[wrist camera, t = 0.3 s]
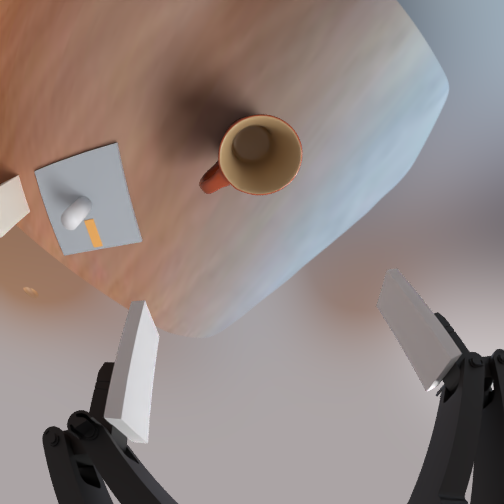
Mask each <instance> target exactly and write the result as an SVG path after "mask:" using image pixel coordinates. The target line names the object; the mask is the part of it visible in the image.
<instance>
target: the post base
mask: <svg viewBox="0 0 504 504" xmlns="http://www.w3.org/2000/svg"><path fill="white" fill-rule="evenodd" d="M35 175H36V178H37V182H38V185H39V189H40V192H41V195H42V198H43V201H44V204H45V207H46V210H47V213H48V216H49V219H50V222H51V224H52V227H53V229H54V232H55V235H56V237H57V240H58V242H59V244H60V247H61V249H62V252H63V254H64V256H65V255H70V254H75V253H81V252H86V251H92V250H97V249H103V248H108V247H114V246H120V245H126V244H132V243H138V242H142V237H141V234H140V231H139V227H138V224H137V220H136V217H135V213H134V210H133V206H132V203H131V199H130V195H129V191H128V187H127V183H126V179H125V175H124V171H123V166H122V162H121V157H120V152H119V148H118V143H114V144H110V145H107V146H103V147H100V148H97V149H94V150H90V151H87V152H84V153H81V154H78V155H75V156H72V157H70V158H67V159H64V160H61V161H59V162H56V163H53V164H51V165H48V166H46V167H43V168H41V169H38V170H36V171H35Z"/></svg>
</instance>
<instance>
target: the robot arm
mask: <svg viewBox="0 0 504 504" xmlns="http://www.w3.org/2000/svg"><path fill="white" fill-rule="evenodd" d="M377 308H378V309H379V311H380V312H381V314H382V315H383V317H384V319H385V320H386V322H387V324H388V325H389V327H390V328H391V330H392V332H393V333H394V335H395V337H396V338H397V340H398V342H399V344H400V345H401V347H402V349H403V350H404V352H405V354H406V356H407V357H408V359H409V360H410V362H411V364H412V366H413V368H414V370H415V372H416V373H417V375H418V377H419V379H420V381H421V383H422V385H423V386H424V388H425V390H426V391H429V390H431V389H433V388H435V387H437V386H438V384H439V383H440V382H441V381H442V380H443V382H444V385H443V386H442V387H441V388H440V390H439V391H438V392H437V394H436V396H438V395H439V394H440V393H441V396H440V397H441V398H440V403H439V408H438V412H437V417H436V421H435V426H434V430H433V433H432V437H431V441H430V444H429V447H428V451H427V454H426V457H425V460H424V463H423V466H422V469H421V472H420V475H419V477H418V480H417V482H416V485H415V487H414V490H413V492H412V495H411V497H410V500H409V502H408V503H407V504H468V502H467V501H466V500H465V497H464V496H465V492H466V489H467V486H468V482H469V479H470V475H471V471H472V467H473V463H474V471H473V484H472V494H471V502H470V504H504V350H502V349H497V350H496V351H495V352H494V353H493V355H492V356H487V357H481V356H480V355H479V354H477V353H476V352H469V351H468V349H467V348H466V346H465V345H464V343H463V342H462V341H461V339H460V338H459V336H458V335H457V334H456V332H454V329H453V328H452V327H451V326H450V324H449V323H448V321H447V320H446V319H445V318H444V317H443V316H442V315H440V314H439V313H433V312H432V311H431V310H430V308H429V307H428V306H427V304H426V303H425V302H424V300H423V299H422V298H421V297H420V295H419V294H418V293H417V292H416V290H415V289H414V288H413V287H412V285H411V284H410V283H409V282H408V281H407V279H406V278H405V277H404V276H403V274H402V273H401V272H400V271H399V270H398V269H397V268H395V269H390V270H387V271H386V275H385V278H384V282H383V285H382V289H381V292H380V296H379V299H378V302H377ZM158 341H159V334H158V332H157V329H156V327H155V324H154V322H153V320H152V317H151V315H150V312H149V310H148V307H147V305H146V302H145V300H144V301H132V302H131V305H130V308H129V312H128V315H127V318H126V322H125V326H124V329H123V333H122V336H121V340H120V344H119V348H118V352H117V356H116V360H115V363H112V362H105V363H104V364H103V366H102V367H101V369H100V370H99V373H98V377H97V382H96V385H95V390H94V393H93V398H92V402H91V407H90V412H89V413H88V412H86V411H84V410H79V411H76V412H74V413H73V414H72V415H71V416H70V418H69V419H68V423H67V427H68V430H66V431H62V430H61V429H60V428H57V427H55V426H53V427H49V428H47V429H46V430H45V432H44V434H43V447H44V451H45V456H46V461H47V465H48V469H49V473H50V477H51V480H52V484H53V487H54V490H55V494H56V497H57V500H58V503H59V504H113V502H112V500H111V498H110V495H109V493H108V491H107V488H106V486H105V483H104V481H105V482H106V484H107V485H108V487H109V488H110V490H111V491H112V492H113V494H114V495H115V497H116V498H117V499H118V501H119V502H120V503H121V504H178V503H177V502H176V501H175V500H174V499H173V498H172V497H171V496H170V495H169V494H168V493H167V492H166V491H165V490H164V489H163V488H162V486H161V485H160V484H159V483H158V482H157V481H156V480H155V479H154V478H153V476H152V475H151V474H150V473H149V472H148V470H147V469H146V468H145V467H144V466H143V464H142V463H141V462H140V460H139V459H138V458H137V457H136V455H135V454H134V453H133V451H132V450H131V449H130V447H129V446H128V445H127V438H128V439H129V440H131V441H132V442H139V443H148V433H149V421H150V409H151V398H152V388H153V379H154V371H155V363H156V355H157V348H158ZM492 385H493V386H494V390H493V391H492V388H491V386H492ZM103 479H104V481H103Z"/></svg>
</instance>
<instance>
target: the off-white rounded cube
mask: <svg viewBox="0 0 504 504" xmlns="http://www.w3.org/2000/svg"><path fill="white" fill-rule="evenodd" d="M29 212H30V210H29V207H28V204H27V201H26V198H25V195H24V192H23V189H22V185H21V182H20V178H19V175H18V176H16V177H14V178H12V179H9V180H7V181H5V182H3V183H1V184H0V237H2V236H4V235H5V234H6V233H7V231H9V230H10V229H11V228H12V227H13V226H14V225H15V224H16V223H18V222H19V221H20V220H21V219H22V218H23V217H24V216H26V215H27V214H28V213H29Z"/></svg>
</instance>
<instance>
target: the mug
mask: <svg viewBox="0 0 504 504" xmlns="http://www.w3.org/2000/svg"><path fill="white" fill-rule="evenodd" d="M301 162H302V146H301V142H300V139H299V137H298V135H297V134H296V132H295V131H294V129H293V128H292V127H291V126H290V125H289V124H288V123H286V122H285V121H283V120H282V119H280V118H277V117H274V116H271V115H264V114H259V115H252V116H247V117H243V118H240V119H238V120H236V121H235V122H234V123H232V124H231V125H230V126H229V128H228V129H227V131H226V133H225V135H224V136H223V138H222V140H221V143H220V146H219V152H218V161H217V162H216V163H215V165H214V166H213V167H211V168H210V169H209V170H208V171H207V172H206V173H205V174H204V175H203V176H202V178H201V180H200V182H199V186H200V188H201V189H202V190H203V191H204V192H205V193H206V194H211V193H213V192H215V191H217V190H218V189H220V188H222V187H225V186H228V185H230V184H231V185H232V186H233V187H234V188H235V189H237V190H239V191H241V192H244V193H247V194H252V195H267V194H271V193H274V192H277V191H279V190H281V189H283V188H284V187H286V186H287V185H288V184H289V183H290V182H291V181H292V180H293V179H294V177H295V176H296V175H297V173H298V171H299V169H300V166H301Z"/></svg>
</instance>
